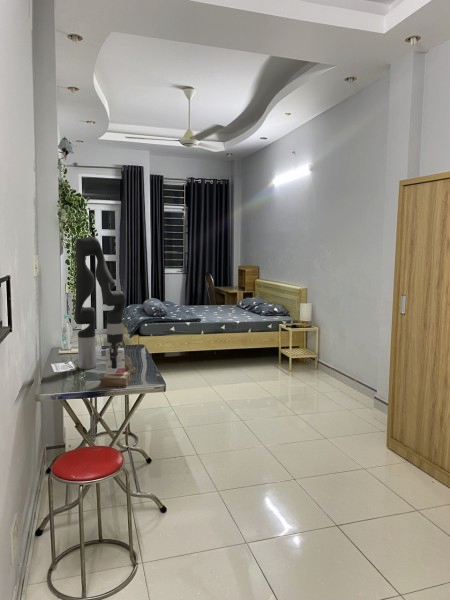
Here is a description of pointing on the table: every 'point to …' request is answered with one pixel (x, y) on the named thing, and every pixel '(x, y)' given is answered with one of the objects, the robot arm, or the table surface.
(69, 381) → the table surface
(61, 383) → the table surface
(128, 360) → the ceramic model
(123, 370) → the ink box
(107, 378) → the base
